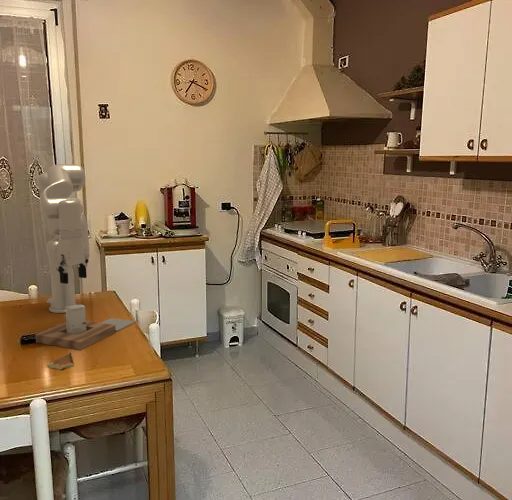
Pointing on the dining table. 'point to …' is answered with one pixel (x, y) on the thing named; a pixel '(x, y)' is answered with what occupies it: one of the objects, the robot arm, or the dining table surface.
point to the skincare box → (75, 319)
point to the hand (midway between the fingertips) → (73, 280)
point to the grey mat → (118, 323)
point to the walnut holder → (79, 342)
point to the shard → (62, 362)
